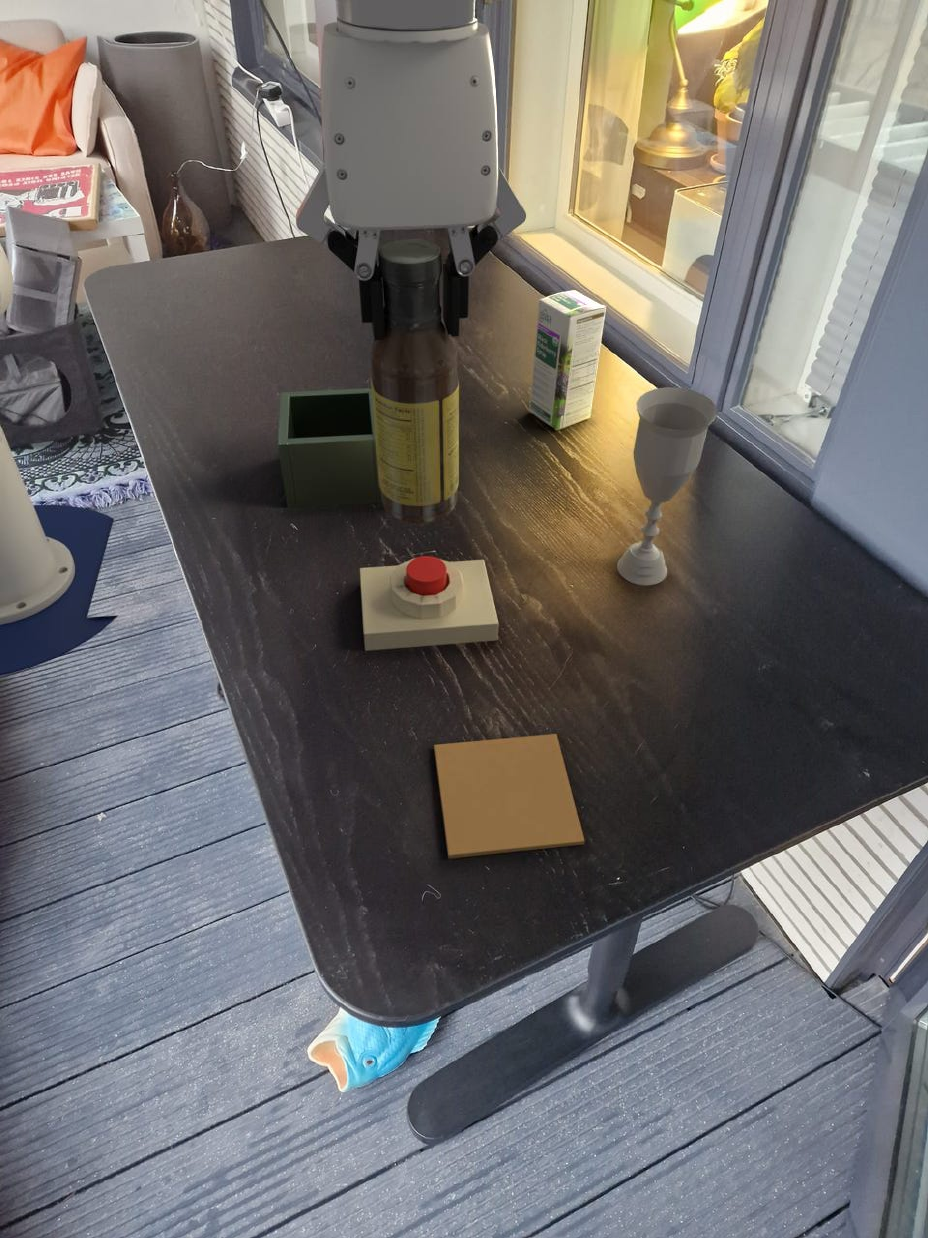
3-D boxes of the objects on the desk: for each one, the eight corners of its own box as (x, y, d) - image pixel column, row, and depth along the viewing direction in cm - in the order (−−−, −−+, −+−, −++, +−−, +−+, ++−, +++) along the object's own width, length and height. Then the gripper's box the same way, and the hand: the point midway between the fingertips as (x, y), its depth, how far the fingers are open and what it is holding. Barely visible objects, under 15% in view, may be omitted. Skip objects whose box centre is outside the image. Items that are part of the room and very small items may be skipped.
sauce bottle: (430, 473, 71) (431, 223, 57) (473, 512, 67) (485, 254, 53) (362, 497, 68) (346, 240, 54) (403, 538, 64) (397, 274, 50)
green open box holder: (287, 508, 91) (272, 408, 83) (289, 454, 99) (275, 357, 90) (413, 501, 93) (411, 402, 84) (406, 448, 100) (403, 352, 92)
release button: (408, 597, 76) (408, 583, 75) (405, 571, 78) (404, 557, 77) (448, 595, 76) (448, 580, 75) (444, 569, 79) (444, 554, 78)
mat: (448, 859, 61) (448, 855, 61) (434, 748, 68) (434, 744, 68) (583, 844, 62) (584, 841, 62) (555, 737, 69) (556, 733, 69)
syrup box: (527, 411, 107) (536, 298, 97) (563, 398, 109) (575, 286, 99) (556, 432, 103) (568, 316, 93) (592, 418, 106) (608, 304, 96)
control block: (365, 651, 76) (362, 618, 73) (360, 584, 82) (358, 552, 80) (497, 640, 77) (499, 608, 75) (483, 576, 84) (484, 544, 81)
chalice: (659, 601, 82) (699, 439, 69) (595, 576, 84) (622, 414, 72) (687, 560, 86) (729, 400, 74) (625, 537, 89) (656, 379, 76)
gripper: (547, -14, 48) (525, 301, 61) (246, -14, 46) (288, 311, 59) (579, 9, 43) (548, 349, 56) (241, 10, 41) (288, 362, 54)
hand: (414, 326), depth 57 cm, fingers closed on sauce bottle, 4 cm apart
